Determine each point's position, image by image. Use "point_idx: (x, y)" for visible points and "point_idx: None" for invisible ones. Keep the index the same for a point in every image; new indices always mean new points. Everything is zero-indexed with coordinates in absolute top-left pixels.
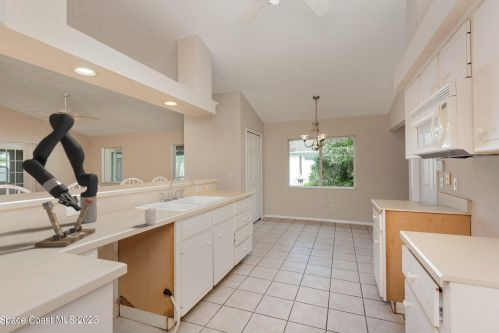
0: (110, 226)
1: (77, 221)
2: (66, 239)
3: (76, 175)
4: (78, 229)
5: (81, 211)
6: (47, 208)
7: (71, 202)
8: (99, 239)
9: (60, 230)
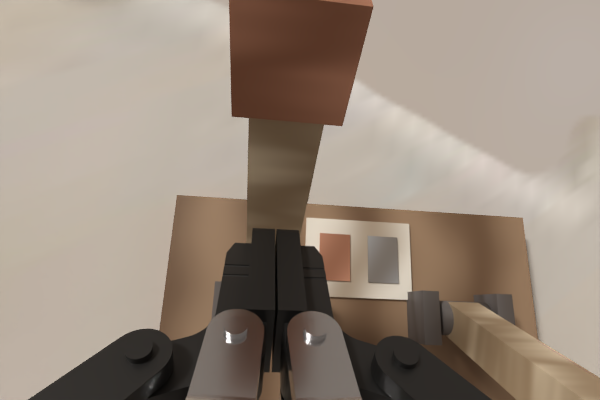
0: (6, 155)
1: None
2: (468, 256)
3: None
4: None
5: (304, 211)
6: None
7: (354, 390)
8: (380, 98)
9: (484, 317)
